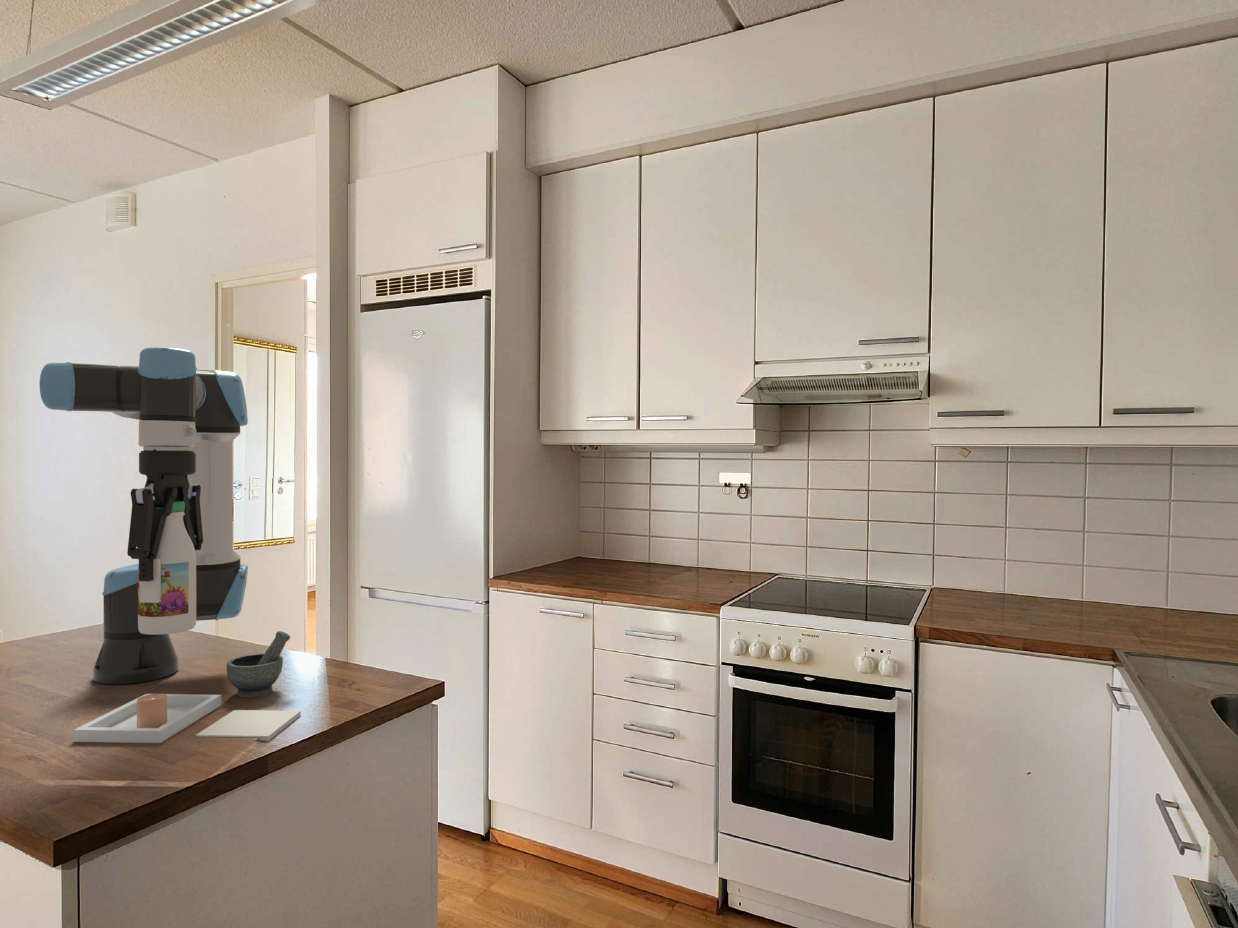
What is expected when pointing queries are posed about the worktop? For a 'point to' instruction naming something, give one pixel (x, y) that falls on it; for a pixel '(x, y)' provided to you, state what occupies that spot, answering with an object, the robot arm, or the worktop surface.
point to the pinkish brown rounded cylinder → (152, 711)
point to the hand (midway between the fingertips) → (167, 596)
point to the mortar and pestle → (258, 669)
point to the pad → (251, 724)
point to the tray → (124, 728)
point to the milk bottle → (172, 581)
